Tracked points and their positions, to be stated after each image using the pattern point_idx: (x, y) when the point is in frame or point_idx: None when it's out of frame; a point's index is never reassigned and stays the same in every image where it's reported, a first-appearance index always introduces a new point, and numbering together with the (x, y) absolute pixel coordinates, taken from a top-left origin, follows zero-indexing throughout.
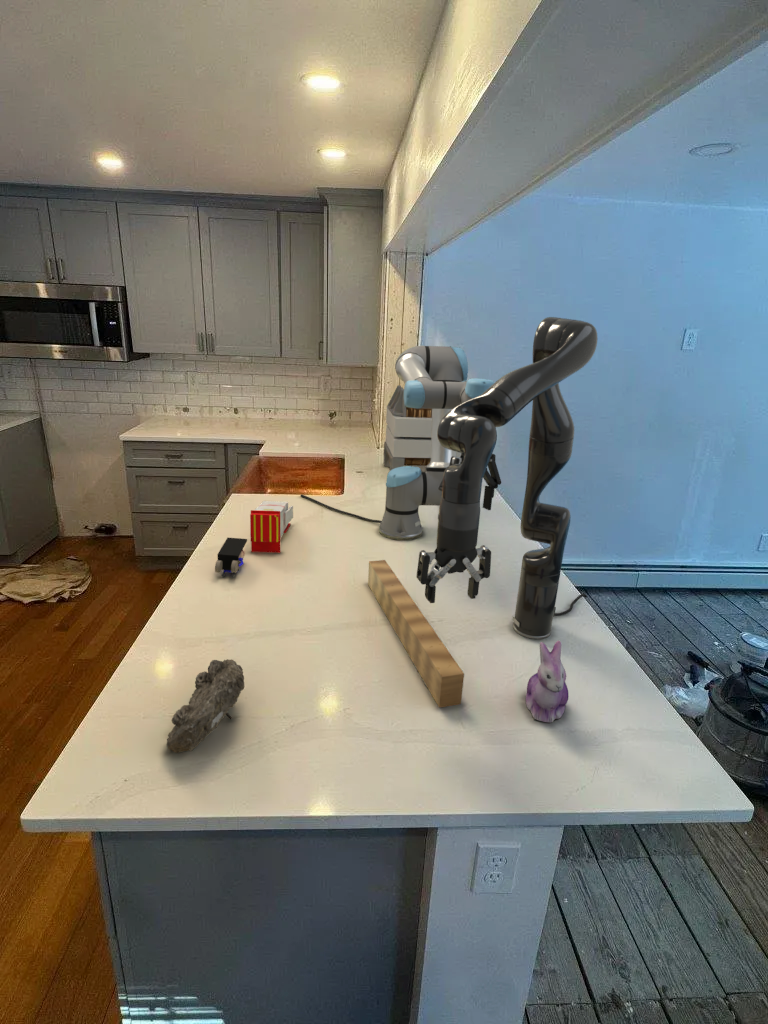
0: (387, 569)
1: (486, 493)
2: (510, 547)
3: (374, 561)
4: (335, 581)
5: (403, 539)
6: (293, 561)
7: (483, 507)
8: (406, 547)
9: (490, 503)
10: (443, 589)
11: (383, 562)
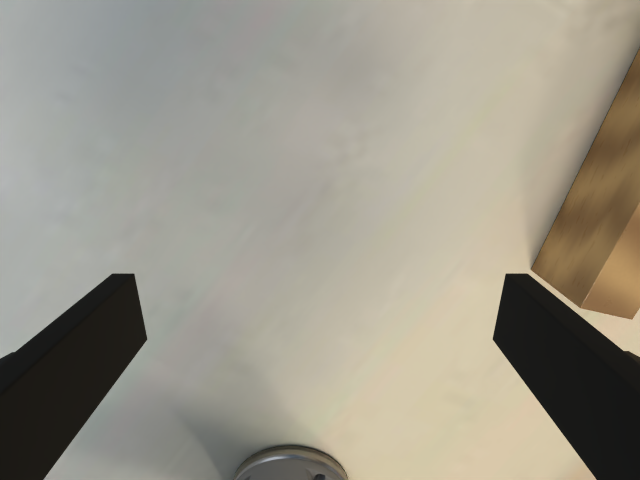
0: (631, 243)
1: (56, 419)
2: (25, 307)
3: (618, 311)
4: (630, 327)
5: (314, 451)
6: None
7: (144, 333)
8: (331, 415)
9: (88, 303)
10: (406, 162)
11: (600, 293)
